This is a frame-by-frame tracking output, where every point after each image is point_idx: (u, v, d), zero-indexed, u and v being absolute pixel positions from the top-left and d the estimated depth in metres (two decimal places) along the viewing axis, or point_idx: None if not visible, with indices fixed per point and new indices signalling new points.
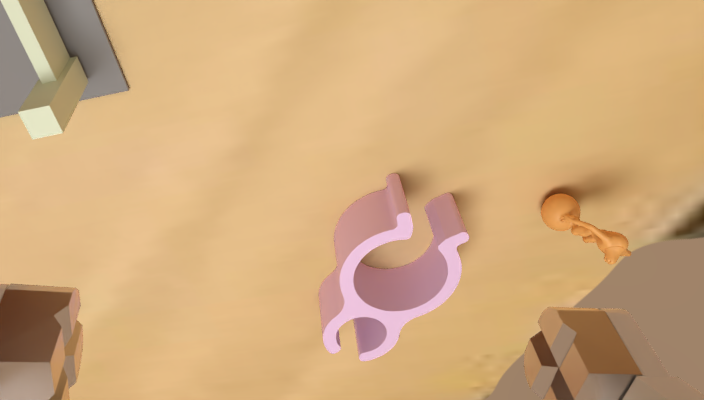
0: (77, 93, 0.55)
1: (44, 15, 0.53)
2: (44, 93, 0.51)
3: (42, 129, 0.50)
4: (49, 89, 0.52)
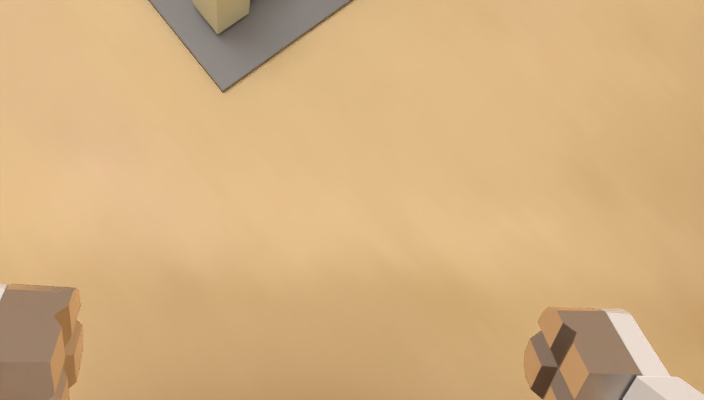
0: (224, 6, 0.37)
1: None
2: None
3: None
4: None
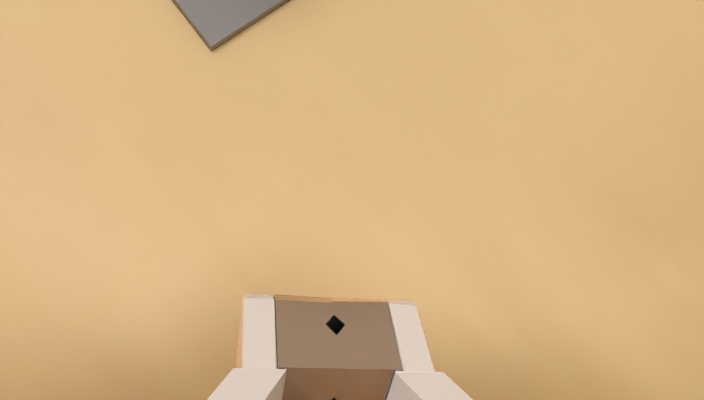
0: None
1: None
2: None
3: None
4: None
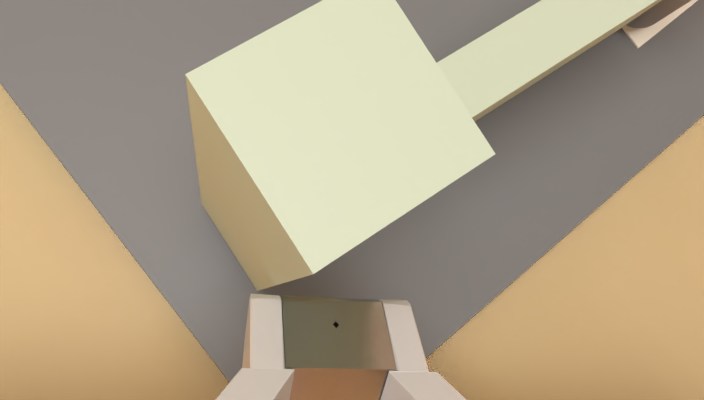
0: None
1: (484, 114, 0.16)
2: None
3: (294, 132, 0.07)
4: None
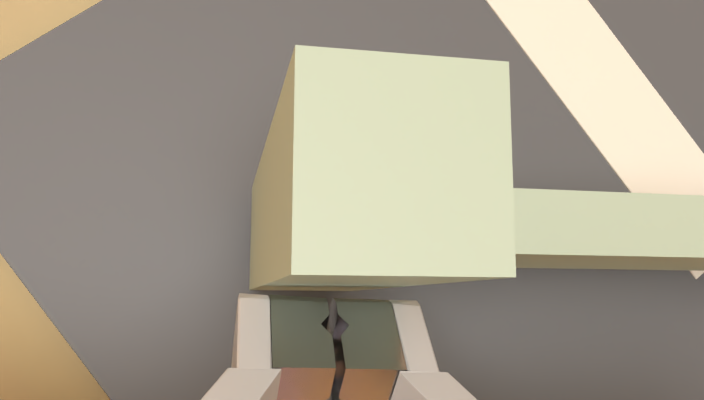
0: (285, 287, 0.12)
1: (541, 265, 0.15)
2: None
3: (353, 147, 0.07)
4: None
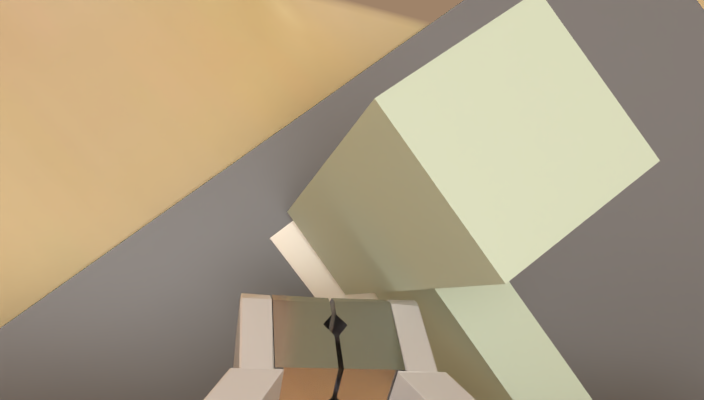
0: (320, 210, 0.13)
1: None
2: None
3: (501, 82, 0.07)
4: None
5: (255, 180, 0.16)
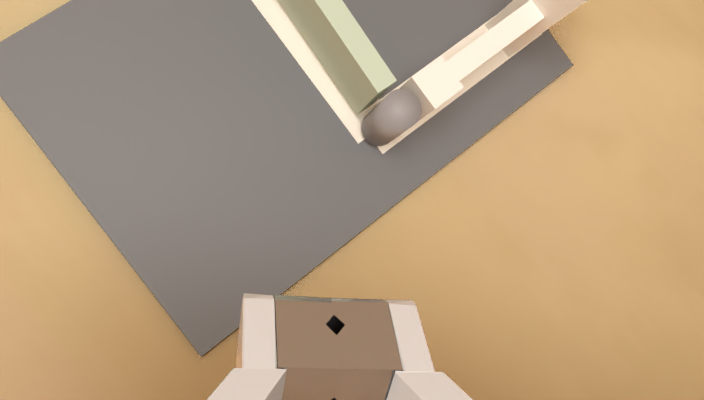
0: None
1: (306, 27, 0.36)
2: None
3: None
4: None
5: None
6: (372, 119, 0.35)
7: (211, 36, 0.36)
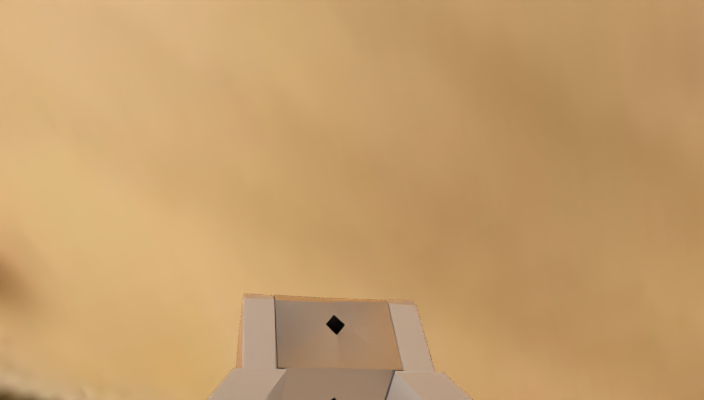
0: None
1: None
2: None
3: None
4: None
5: None
6: None
7: None
